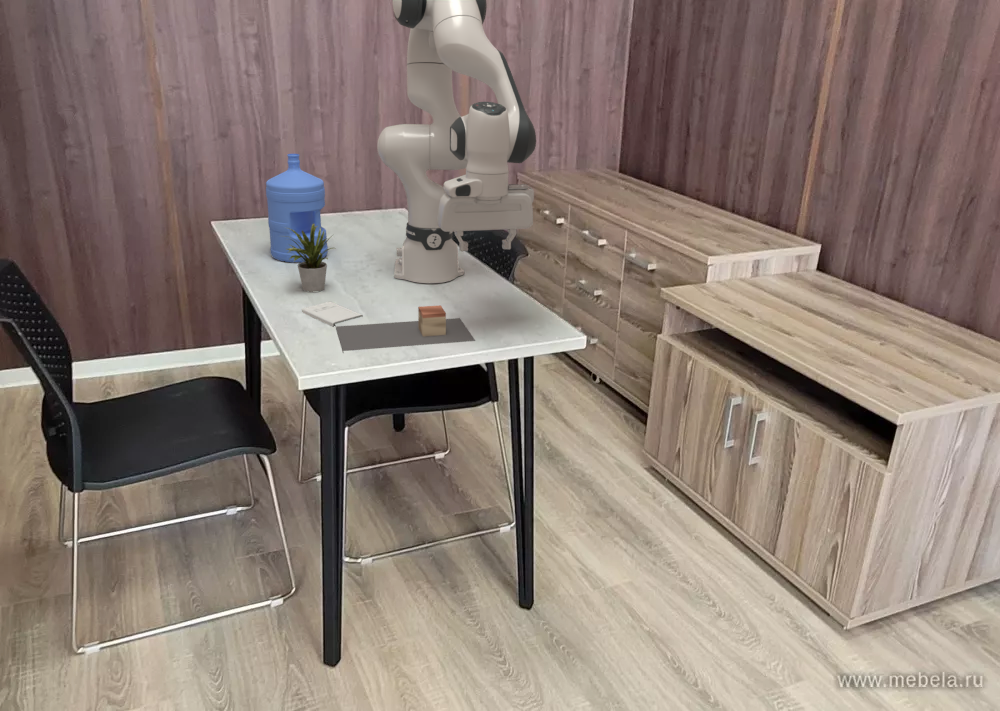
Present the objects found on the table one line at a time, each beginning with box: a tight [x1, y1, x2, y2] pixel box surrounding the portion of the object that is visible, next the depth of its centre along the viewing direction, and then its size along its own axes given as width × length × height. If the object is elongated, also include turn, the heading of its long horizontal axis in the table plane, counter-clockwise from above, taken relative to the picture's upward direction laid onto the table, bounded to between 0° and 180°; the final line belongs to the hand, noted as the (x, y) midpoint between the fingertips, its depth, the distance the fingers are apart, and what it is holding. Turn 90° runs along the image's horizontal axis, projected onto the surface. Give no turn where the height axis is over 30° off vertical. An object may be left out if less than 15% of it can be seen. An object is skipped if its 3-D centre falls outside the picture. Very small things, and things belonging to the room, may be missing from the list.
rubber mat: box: [335, 317, 476, 354], centre depth 177 cm, size 14×28×1 cm, turn 106°
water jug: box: [265, 153, 329, 263], centre depth 225 cm, size 16×16×28 cm
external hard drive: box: [301, 301, 364, 328], centre depth 187 cm, size 2×8×12 cm
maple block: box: [417, 305, 447, 336], centre depth 178 cm, size 5×5×5 cm
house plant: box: [284, 223, 337, 293], centre depth 202 cm, size 14×14×16 cm
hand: (485, 249), depth 175 cm, fingers open, 8 cm apart
